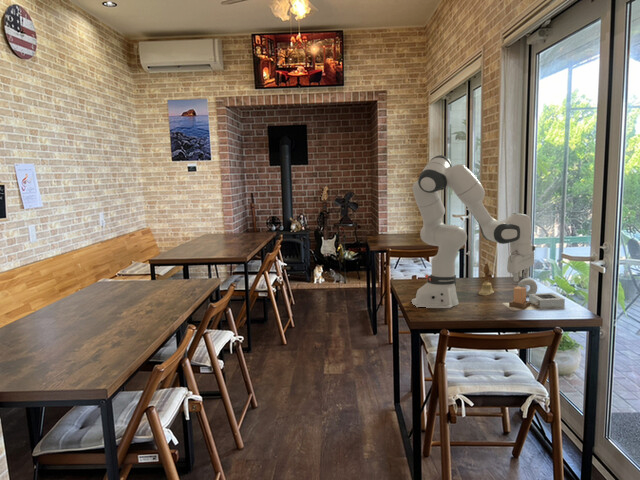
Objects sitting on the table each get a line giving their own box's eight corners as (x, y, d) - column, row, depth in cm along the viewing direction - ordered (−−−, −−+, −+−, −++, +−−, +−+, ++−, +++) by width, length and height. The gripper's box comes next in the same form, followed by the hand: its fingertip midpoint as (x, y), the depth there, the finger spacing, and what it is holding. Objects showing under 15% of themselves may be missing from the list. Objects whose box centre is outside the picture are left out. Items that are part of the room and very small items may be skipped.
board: (511, 313, 206) (511, 310, 206) (501, 306, 218) (501, 303, 218) (566, 311, 206) (566, 308, 205) (553, 304, 218) (553, 300, 217)
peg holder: (524, 309, 207) (524, 304, 207) (509, 306, 212) (509, 302, 212) (530, 305, 212) (530, 301, 211) (515, 303, 216) (515, 299, 216)
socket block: (539, 308, 206) (539, 300, 206) (528, 302, 217) (529, 293, 217) (564, 307, 206) (564, 299, 205) (552, 301, 217) (552, 292, 216)
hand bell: (479, 295, 238) (479, 265, 236) (477, 291, 246) (477, 262, 244) (496, 296, 236) (496, 265, 234) (494, 291, 244) (494, 262, 242)
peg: (522, 307, 209) (522, 289, 208) (513, 306, 212) (513, 288, 211) (525, 305, 212) (526, 287, 211) (517, 304, 215) (517, 286, 213)
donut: (535, 296, 232) (535, 276, 230) (538, 298, 228) (539, 278, 227) (515, 297, 231) (515, 278, 230) (518, 299, 228) (519, 279, 226)
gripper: (517, 253, 199) (517, 284, 201) (537, 245, 212) (536, 275, 214) (503, 252, 203) (503, 283, 205) (523, 245, 217) (523, 273, 219)
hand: (520, 279), depth 210 cm, fingers open, 8 cm apart
